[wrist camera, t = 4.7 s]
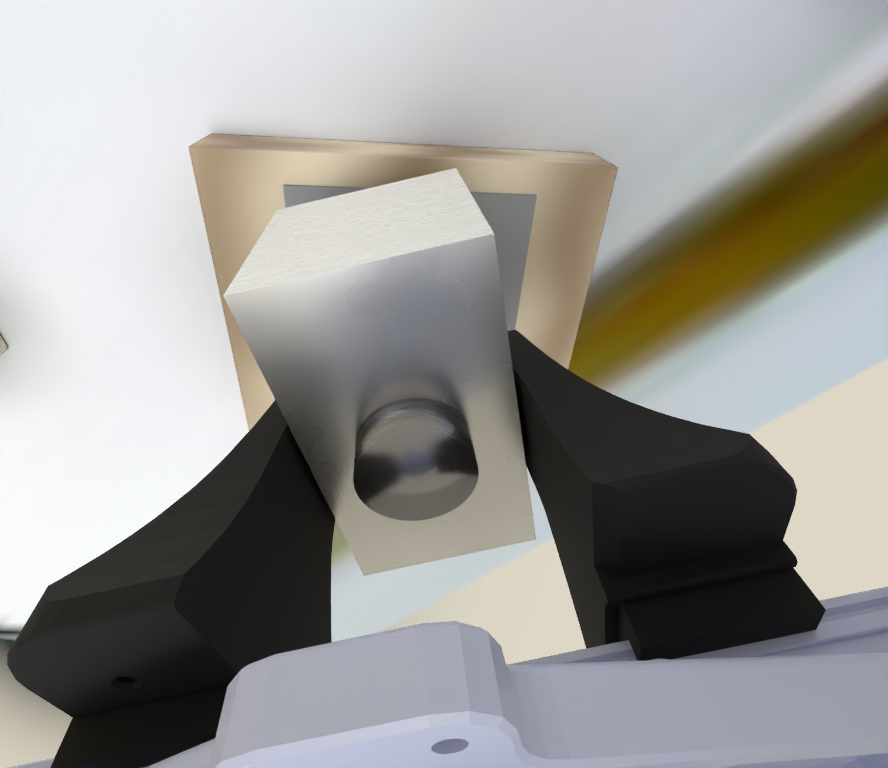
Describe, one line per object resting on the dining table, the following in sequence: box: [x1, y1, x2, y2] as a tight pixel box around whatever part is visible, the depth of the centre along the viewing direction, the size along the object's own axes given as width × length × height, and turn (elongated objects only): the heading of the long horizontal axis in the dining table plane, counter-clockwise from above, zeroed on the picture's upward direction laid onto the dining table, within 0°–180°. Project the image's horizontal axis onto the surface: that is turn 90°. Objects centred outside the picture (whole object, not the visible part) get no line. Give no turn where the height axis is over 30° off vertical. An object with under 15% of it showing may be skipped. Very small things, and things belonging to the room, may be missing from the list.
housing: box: [223, 168, 536, 576], centre depth 12 cm, size 4×8×6 cm, turn 11°
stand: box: [189, 134, 618, 431], centre depth 21 cm, size 14×14×3 cm
